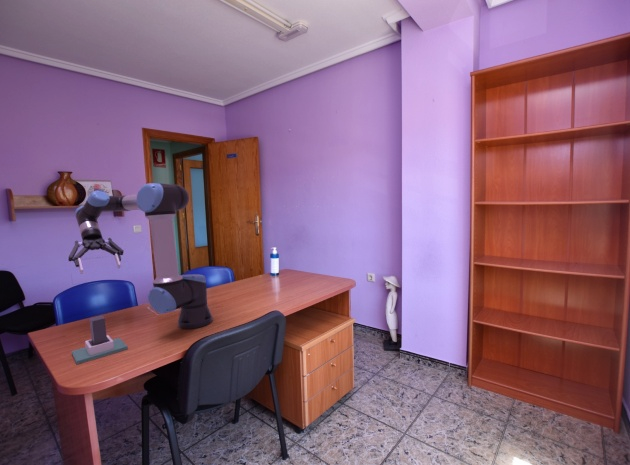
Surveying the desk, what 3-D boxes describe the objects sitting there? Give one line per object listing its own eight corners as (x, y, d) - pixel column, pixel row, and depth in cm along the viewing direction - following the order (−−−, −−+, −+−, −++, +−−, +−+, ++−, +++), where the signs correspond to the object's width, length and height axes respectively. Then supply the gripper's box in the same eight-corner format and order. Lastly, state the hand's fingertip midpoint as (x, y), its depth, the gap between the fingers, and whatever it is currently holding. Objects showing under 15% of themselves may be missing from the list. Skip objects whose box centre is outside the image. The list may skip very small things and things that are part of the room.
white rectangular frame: (157, 314, 162) (147, 307, 175) (158, 315, 162) (147, 308, 175) (178, 309, 170) (166, 302, 182) (178, 310, 170) (167, 303, 182)
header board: (119, 340, 131) (119, 330, 131) (127, 349, 123) (126, 338, 122) (72, 354, 120) (70, 343, 120) (76, 364, 112) (75, 353, 111)
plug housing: (104, 344, 125) (101, 315, 124) (107, 348, 121) (104, 318, 120) (92, 348, 122) (89, 318, 121) (95, 352, 118) (92, 321, 117)
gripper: (120, 236, 156) (132, 269, 146) (56, 241, 139) (64, 279, 129) (122, 225, 152) (134, 259, 142) (56, 230, 134) (64, 268, 125)
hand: (101, 269), depth 136 cm, fingers open, 13 cm apart
